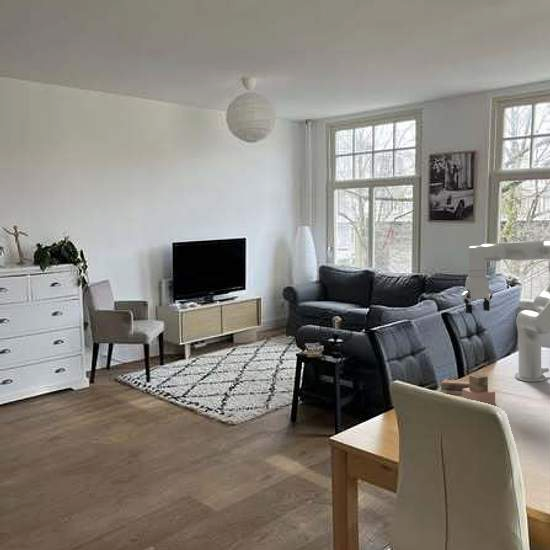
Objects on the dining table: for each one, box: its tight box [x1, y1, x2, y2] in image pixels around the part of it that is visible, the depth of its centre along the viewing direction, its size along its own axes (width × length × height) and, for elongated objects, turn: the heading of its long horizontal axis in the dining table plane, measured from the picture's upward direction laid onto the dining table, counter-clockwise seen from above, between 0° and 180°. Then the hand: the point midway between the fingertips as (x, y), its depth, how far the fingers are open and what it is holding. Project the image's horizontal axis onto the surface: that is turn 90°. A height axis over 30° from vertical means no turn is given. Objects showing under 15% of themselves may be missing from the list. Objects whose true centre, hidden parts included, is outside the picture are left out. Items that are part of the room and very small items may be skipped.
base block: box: [461, 388, 496, 405], centre depth 224 cm, size 9×9×5 cm
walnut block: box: [468, 373, 489, 393], centre depth 224 cm, size 5×5×6 cm
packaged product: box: [439, 379, 469, 396], centre depth 239 cm, size 18×5×10 cm
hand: (477, 311), depth 245 cm, fingers open, 9 cm apart
